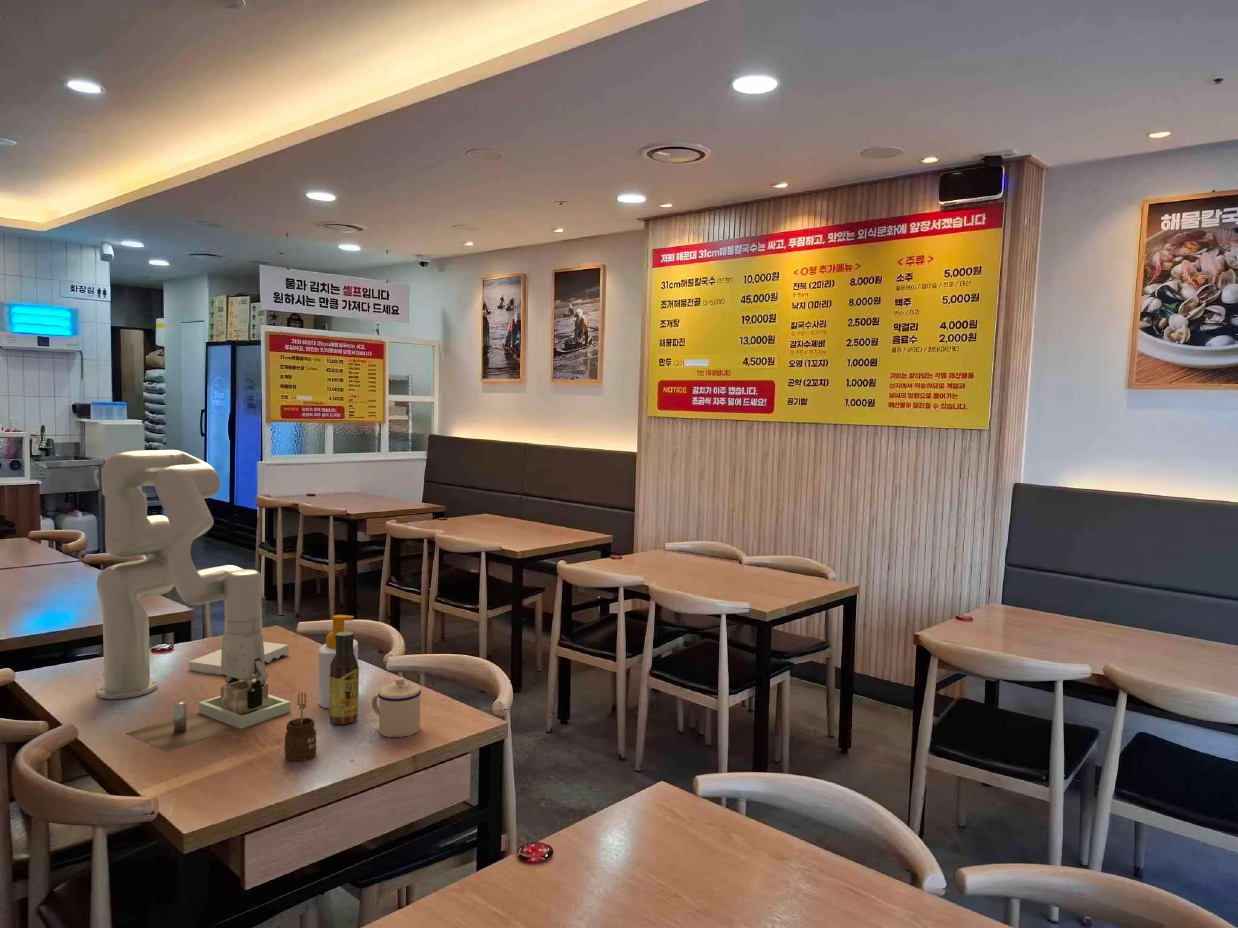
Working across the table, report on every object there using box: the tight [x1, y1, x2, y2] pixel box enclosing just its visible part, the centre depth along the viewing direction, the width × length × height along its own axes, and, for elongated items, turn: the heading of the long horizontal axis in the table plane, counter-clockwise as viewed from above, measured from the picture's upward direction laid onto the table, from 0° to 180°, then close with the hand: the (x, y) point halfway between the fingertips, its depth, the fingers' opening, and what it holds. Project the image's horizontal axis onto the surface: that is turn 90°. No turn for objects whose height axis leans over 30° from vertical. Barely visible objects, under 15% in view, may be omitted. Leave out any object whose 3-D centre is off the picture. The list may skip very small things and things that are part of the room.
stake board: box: [125, 712, 234, 753], centre depth 170 cm, size 16×14×2 cm
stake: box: [172, 700, 187, 733], centre depth 169 cm, size 2×2×6 cm
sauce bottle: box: [328, 630, 360, 725], centre depth 180 cm, size 7×6×20 cm
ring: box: [220, 679, 269, 715], centre depth 181 cm, size 7×7×5 cm
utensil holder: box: [284, 692, 317, 762], centre depth 162 cm, size 6×6×12 cm
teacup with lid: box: [371, 677, 422, 738], centre depth 176 cm, size 12×9×12 cm
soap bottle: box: [318, 614, 359, 709], centre depth 193 cm, size 13×8×20 cm, turn 178°
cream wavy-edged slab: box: [188, 641, 290, 676], centre depth 220 cm, size 15×3×20 cm
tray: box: [197, 693, 291, 730], centre depth 181 cm, size 16×12×4 cm
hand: (244, 702), depth 181 cm, fingers closed on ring, 7 cm apart
